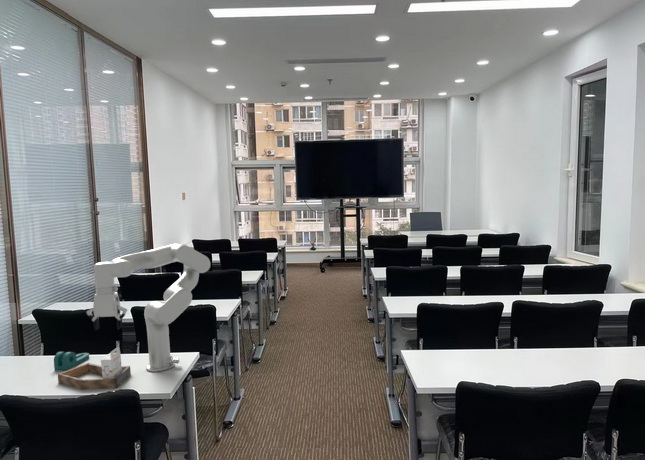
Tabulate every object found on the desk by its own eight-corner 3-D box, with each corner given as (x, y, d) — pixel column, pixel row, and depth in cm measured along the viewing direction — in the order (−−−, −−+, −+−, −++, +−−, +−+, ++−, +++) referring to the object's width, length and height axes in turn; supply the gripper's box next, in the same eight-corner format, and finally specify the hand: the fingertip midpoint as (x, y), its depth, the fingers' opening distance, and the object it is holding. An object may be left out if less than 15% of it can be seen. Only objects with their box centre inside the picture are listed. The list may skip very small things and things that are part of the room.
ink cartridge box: (111, 377, 206) (109, 346, 204) (122, 377, 206) (120, 345, 204) (102, 385, 197) (99, 352, 196) (113, 385, 197) (111, 352, 196)
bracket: (67, 371, 216) (65, 355, 216) (54, 370, 218) (53, 354, 217) (92, 357, 234) (91, 342, 234) (80, 356, 235) (79, 342, 235)
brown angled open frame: (136, 369, 215) (135, 360, 215) (116, 388, 194) (116, 379, 194) (73, 371, 215) (72, 363, 214) (47, 391, 194) (46, 382, 193)
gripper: (128, 287, 202) (131, 325, 203) (89, 289, 202) (92, 327, 203) (121, 291, 194) (124, 330, 196) (80, 293, 194) (84, 332, 195)
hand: (108, 328), depth 199 cm, fingers open, 9 cm apart
